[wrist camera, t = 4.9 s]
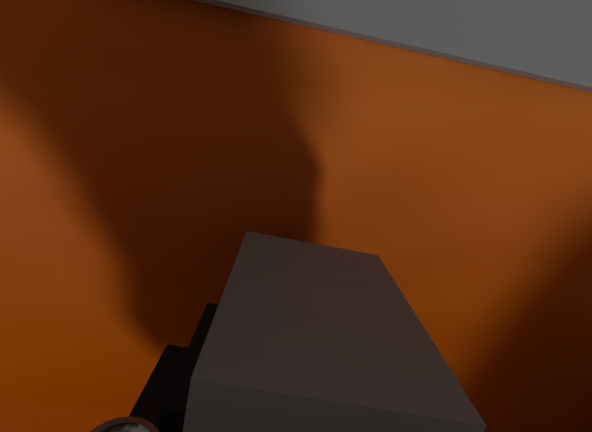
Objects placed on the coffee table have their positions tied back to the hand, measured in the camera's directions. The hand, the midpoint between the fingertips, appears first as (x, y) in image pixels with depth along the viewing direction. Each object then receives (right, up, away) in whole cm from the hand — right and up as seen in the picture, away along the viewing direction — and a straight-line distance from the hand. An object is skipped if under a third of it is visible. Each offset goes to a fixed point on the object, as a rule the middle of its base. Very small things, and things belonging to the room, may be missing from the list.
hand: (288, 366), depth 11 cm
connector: (0, -1, +1) cm, 1 cm away
